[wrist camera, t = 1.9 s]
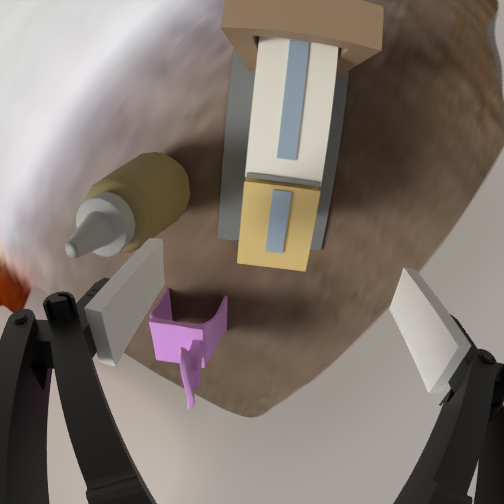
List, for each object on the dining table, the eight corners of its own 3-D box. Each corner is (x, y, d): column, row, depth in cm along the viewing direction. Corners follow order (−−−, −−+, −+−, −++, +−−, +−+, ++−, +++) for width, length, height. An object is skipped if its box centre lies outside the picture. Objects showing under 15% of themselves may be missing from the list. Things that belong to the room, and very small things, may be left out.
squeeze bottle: (124, 195, 33) (24, 264, 17) (151, 135, 30) (41, 165, 14) (179, 228, 34) (108, 323, 18) (212, 169, 31) (144, 231, 15)
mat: (236, 28, 24) (236, 27, 24) (350, 43, 24) (351, 42, 23) (218, 237, 35) (217, 238, 34) (320, 249, 34) (320, 251, 34)
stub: (256, 157, 30) (244, 182, 19) (304, 163, 30) (320, 192, 19) (250, 211, 32) (236, 264, 21) (296, 217, 32) (305, 272, 21)
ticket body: (251, 44, 25) (227, -17, 11) (333, 55, 24) (383, 6, 10) (239, 153, 30) (206, 186, 16) (320, 163, 30) (359, 205, 16)
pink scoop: (162, 280, 38) (114, 360, 25) (227, 288, 38) (203, 378, 24) (168, 328, 42) (132, 408, 28) (226, 336, 41) (207, 423, 28)
